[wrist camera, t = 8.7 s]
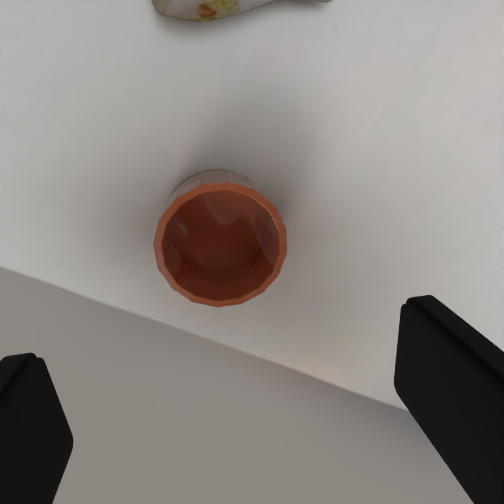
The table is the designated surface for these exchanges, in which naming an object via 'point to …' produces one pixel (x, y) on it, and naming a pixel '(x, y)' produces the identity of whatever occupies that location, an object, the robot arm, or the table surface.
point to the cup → (219, 239)
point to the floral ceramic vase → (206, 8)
